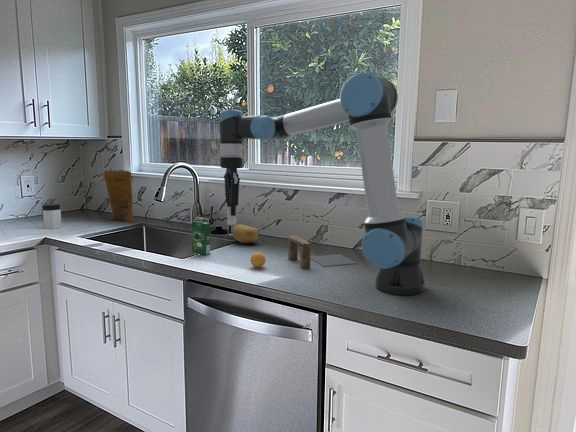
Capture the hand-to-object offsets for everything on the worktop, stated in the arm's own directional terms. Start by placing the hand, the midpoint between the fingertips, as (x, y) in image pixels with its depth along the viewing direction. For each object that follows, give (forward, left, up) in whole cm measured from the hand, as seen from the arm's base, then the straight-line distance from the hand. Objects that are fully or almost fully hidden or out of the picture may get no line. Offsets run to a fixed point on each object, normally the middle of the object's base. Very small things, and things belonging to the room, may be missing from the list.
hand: (232, 224), depth 156 cm
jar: (+102, +70, -17) cm, 125 cm away
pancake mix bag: (+114, +36, -17) cm, 121 cm away
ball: (0, -10, -14) cm, 17 cm away
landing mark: (0, -40, -16) cm, 43 cm away
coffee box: (+26, +6, -17) cm, 32 cm away
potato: (+39, -16, -17) cm, 45 cm away
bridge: (0, -26, -16) cm, 30 cm away
